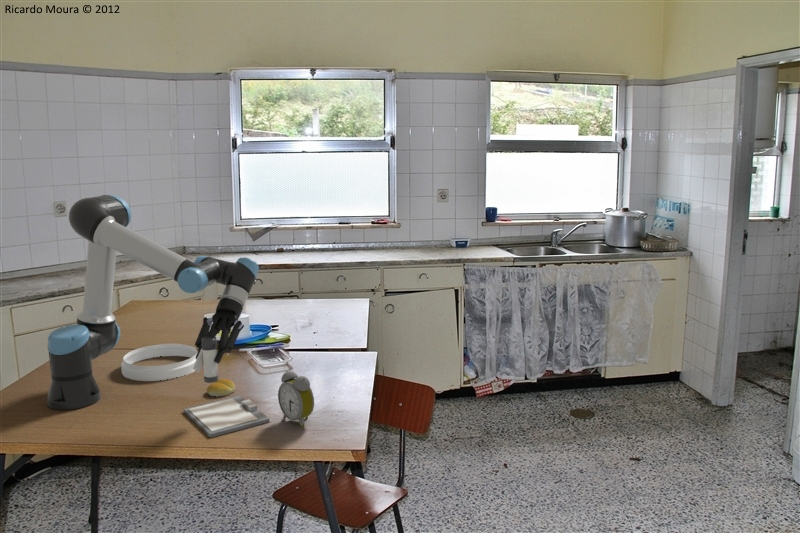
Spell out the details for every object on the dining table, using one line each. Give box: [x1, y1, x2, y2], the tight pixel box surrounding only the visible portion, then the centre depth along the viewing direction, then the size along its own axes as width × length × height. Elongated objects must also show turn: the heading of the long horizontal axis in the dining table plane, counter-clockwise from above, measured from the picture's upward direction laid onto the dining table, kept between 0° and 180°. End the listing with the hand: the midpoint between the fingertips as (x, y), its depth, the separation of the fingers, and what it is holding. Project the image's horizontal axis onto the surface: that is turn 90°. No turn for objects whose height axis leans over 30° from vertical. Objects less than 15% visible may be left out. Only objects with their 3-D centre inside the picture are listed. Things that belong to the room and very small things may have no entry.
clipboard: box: [183, 395, 271, 438], centre depth 197 cm, size 22×18×2 cm
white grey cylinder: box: [201, 336, 219, 384], centre depth 194 cm, size 4×4×13 cm
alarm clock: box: [277, 370, 315, 429], centre depth 192 cm, size 12×7×15 cm, turn 44°
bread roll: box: [206, 378, 236, 398], centre depth 216 cm, size 8×9×4 cm
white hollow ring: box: [120, 343, 198, 382], centre depth 239 cm, size 27×27×5 cm
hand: (202, 371), depth 191 cm, fingers closed on white grey cylinder, 4 cm apart
